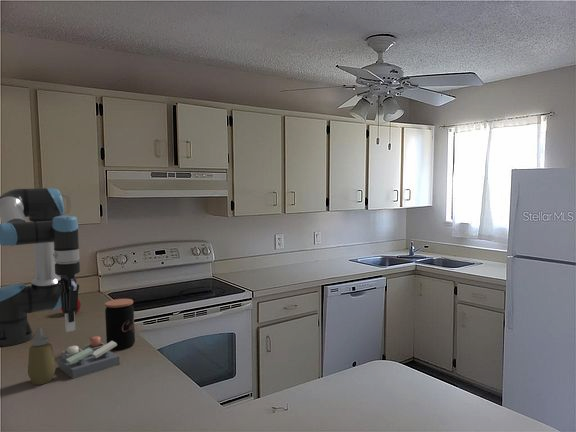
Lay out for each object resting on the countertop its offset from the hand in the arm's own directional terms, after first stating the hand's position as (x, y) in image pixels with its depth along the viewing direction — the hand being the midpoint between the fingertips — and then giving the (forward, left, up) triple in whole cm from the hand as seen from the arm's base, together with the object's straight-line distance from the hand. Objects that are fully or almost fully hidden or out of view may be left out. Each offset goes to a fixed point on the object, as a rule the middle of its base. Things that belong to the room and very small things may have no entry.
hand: (70, 330), depth 149 cm
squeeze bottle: (-2, -9, -16) cm, 18 cm away
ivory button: (-7, +3, -12) cm, 14 cm away
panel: (-3, +7, -15) cm, 17 cm away
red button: (-7, +11, -10) cm, 16 cm away
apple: (-79, +28, -16) cm, 85 cm away
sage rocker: (0, +3, -10) cm, 11 cm away
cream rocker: (0, +11, -10) cm, 15 cm away
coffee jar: (-14, +24, -16) cm, 32 cm away
